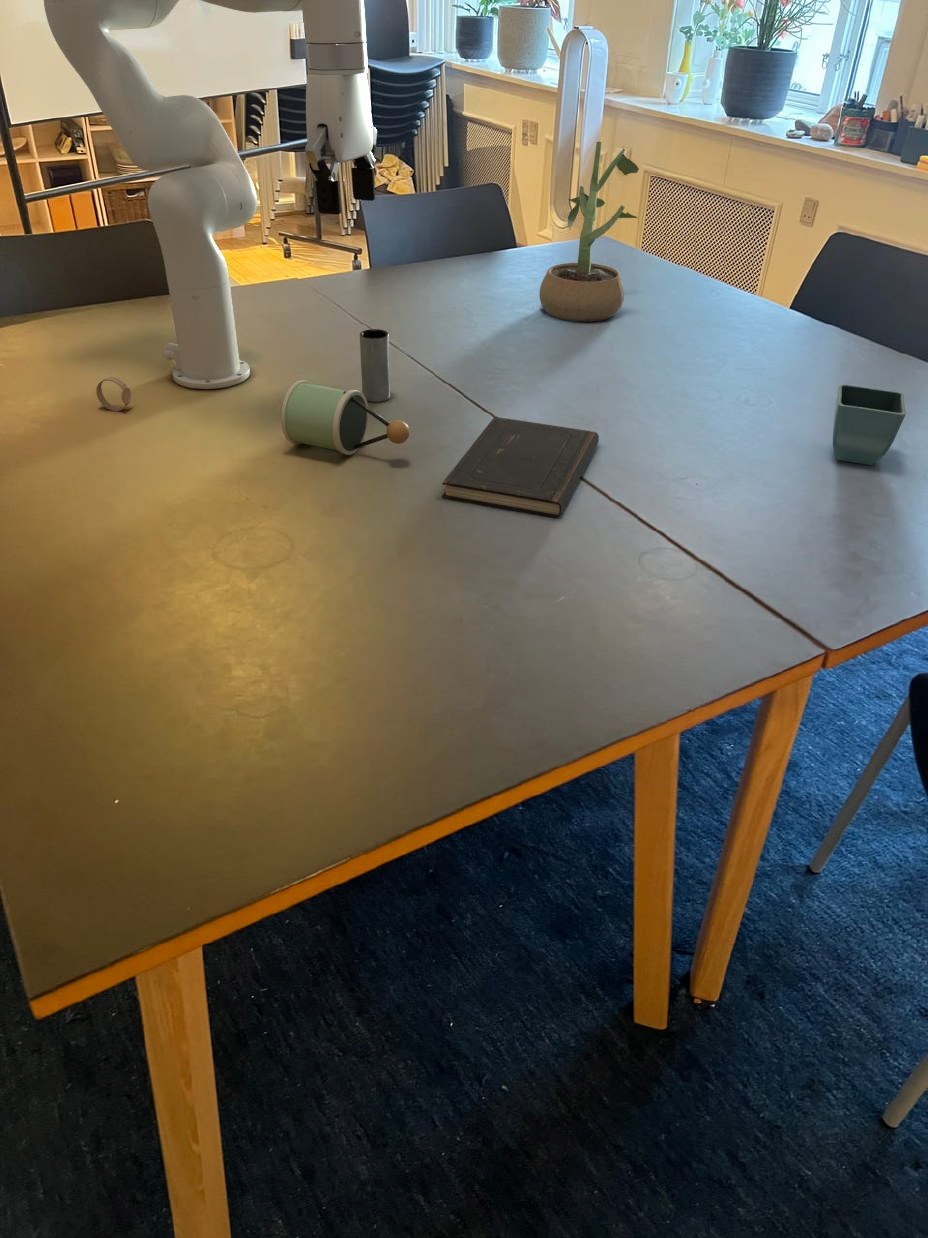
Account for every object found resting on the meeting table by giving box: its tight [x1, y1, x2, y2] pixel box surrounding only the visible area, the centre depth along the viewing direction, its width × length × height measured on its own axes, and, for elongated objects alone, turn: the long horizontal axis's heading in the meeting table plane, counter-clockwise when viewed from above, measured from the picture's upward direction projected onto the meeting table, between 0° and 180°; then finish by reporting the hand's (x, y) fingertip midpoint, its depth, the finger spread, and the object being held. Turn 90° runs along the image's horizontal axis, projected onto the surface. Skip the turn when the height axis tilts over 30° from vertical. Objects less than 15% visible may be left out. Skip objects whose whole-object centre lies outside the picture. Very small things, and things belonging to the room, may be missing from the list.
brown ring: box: [95, 376, 132, 412], centre depth 146 cm, size 3×5×5 cm, turn 78°
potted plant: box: [539, 141, 640, 323], centre depth 185 cm, size 22×18×30 cm
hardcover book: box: [441, 416, 600, 518], centre depth 131 cm, size 16×23×2 cm
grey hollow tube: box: [359, 328, 392, 403], centre depth 150 cm, size 4×4×10 cm
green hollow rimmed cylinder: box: [280, 379, 411, 456], centre depth 133 cm, size 18×9×9 cm, turn 67°
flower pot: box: [832, 383, 907, 466], centre depth 135 cm, size 9×9×9 cm
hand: (347, 206), depth 128 cm, fingers open, 9 cm apart
